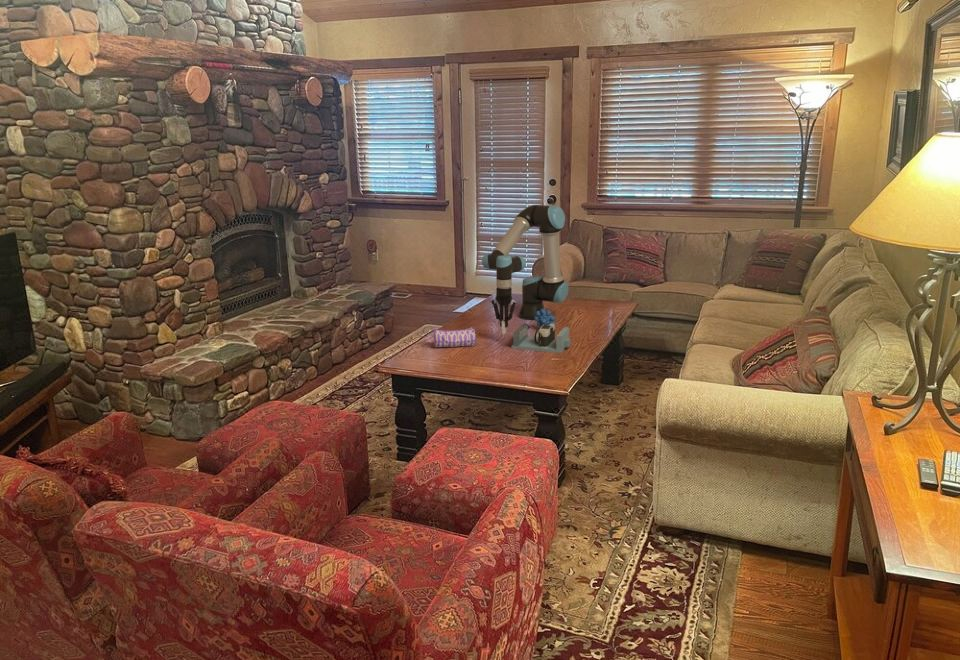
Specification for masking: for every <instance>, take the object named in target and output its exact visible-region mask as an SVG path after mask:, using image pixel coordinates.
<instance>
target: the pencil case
mask: <svg viewBox="0 0 960 660" xmlns="http://www.w3.org/2000/svg"><path fill="white" fill-rule="evenodd" d="M476 329H477V328H476V326H474V328H473V327H470V328H465V329H454V330H441V329H435V328H432V331H434V334H433V343H434V348H450V347H451V348H453V347H456V348H457V347H474V346H476V344H477V335H476V331H475V330H476Z"/></svg>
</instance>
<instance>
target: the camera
mask: <svg viewBox="0 0 960 660" xmlns="http://www.w3.org/2000/svg"><path fill="white" fill-rule="evenodd" d="M533 338H534V342H539V343H540V345H541V348H547V347H548V346H549V345H550V344H551V343H552V342H553V341H554V340H556V324H555V325H554V324H549V325H548V326H547V325H544V324H543V326H541V327H539V329H538V330H537V329H536V330H535V331H534V333H533Z"/></svg>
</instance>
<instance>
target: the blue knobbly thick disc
mask: <svg viewBox="0 0 960 660" xmlns="http://www.w3.org/2000/svg"><path fill="white" fill-rule="evenodd" d="M536 315H537V316H535V317H534V319H535V320H534V321H536V326H537V327H538V328H541V327H542V326H543V324H544V325H547V326H548V325H549V324H554V325H555V326H556V322H555V321H556V317H555V316H554V315H552V311H550V310H546V309H545V308H544V309H541V310H540V311H536Z"/></svg>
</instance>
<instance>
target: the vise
mask: <svg viewBox="0 0 960 660" xmlns="http://www.w3.org/2000/svg"><path fill="white" fill-rule="evenodd" d="M570 345H571V338H570V327H568V326H565V327H563V328H562V329H561V330H560V331H559V333H557V335H555V340H554V341H553V342H552V343H551V344H550V345H549V346H548V347H547V348H541V345H540V343H539V342H534V337H529V336H528V337H527V338H526V339H525V340H524V341H523V342H522V343H521V344H520V345H519V346H516V345H514V343H513V344H511V349H514V350H515V349H516V350H522V351H523V350H525V351H534V352H535V351H537V352H543V353H544V352H545V353H553V352H554V353H555V354H562V353H563V352H564V350H565V349H566V348H569V347H570Z"/></svg>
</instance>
